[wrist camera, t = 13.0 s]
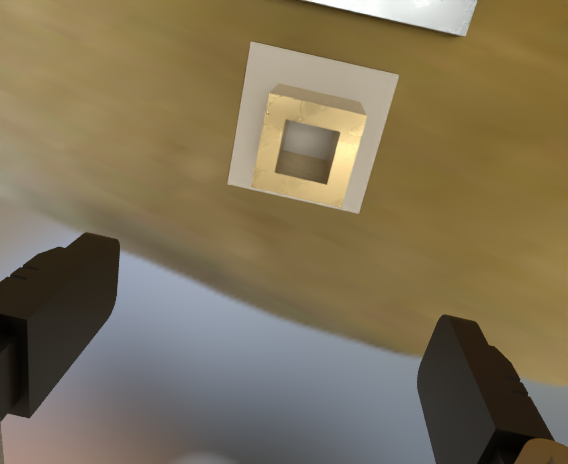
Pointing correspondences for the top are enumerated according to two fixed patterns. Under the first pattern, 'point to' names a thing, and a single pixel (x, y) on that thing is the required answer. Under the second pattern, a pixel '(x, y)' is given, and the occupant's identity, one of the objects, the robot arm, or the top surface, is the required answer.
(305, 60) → the pad
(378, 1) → the gray base plate
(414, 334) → the top surface
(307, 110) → the collar
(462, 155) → the top surface
